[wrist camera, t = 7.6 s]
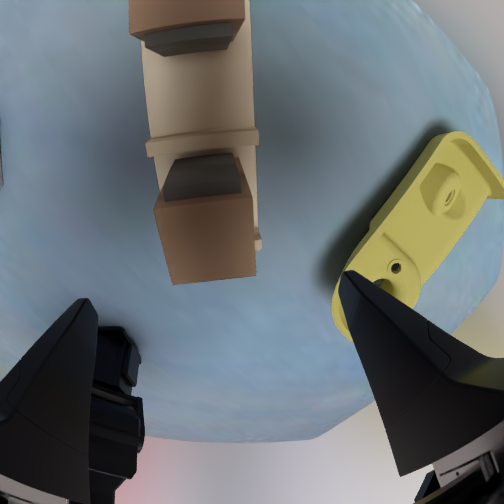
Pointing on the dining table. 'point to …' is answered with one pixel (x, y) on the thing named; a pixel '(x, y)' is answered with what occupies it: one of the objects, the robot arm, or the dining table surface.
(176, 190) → the walnut finger
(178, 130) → the rail
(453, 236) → the plastic component
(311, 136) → the dining table surface
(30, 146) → the dining table surface
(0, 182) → the coffee box
